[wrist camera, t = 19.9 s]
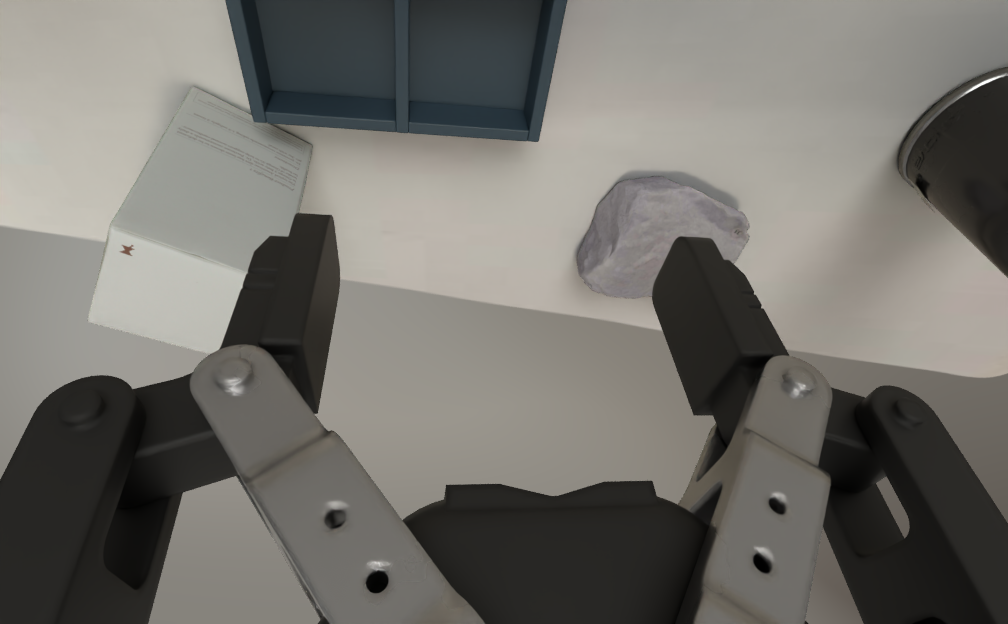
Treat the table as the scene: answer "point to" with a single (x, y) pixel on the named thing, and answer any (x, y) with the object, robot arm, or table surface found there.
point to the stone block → (651, 233)
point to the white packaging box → (197, 224)
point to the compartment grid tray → (400, 64)
